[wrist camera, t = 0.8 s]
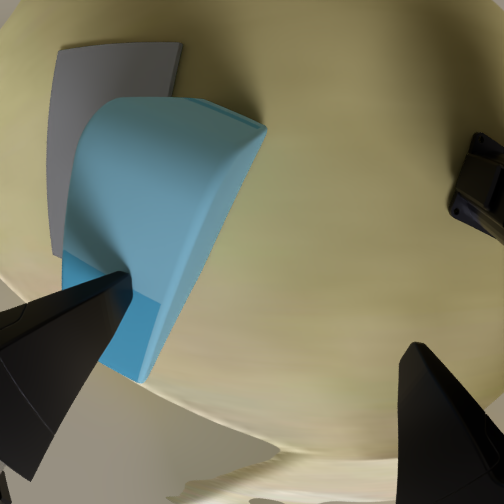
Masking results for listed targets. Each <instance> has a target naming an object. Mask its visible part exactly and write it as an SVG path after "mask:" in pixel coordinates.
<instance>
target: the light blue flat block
mask: <svg viewBox="0 0 504 504" xmlns="http://www.w3.org/2000/svg"><path fill="white" fill-rule="evenodd" d="M266 133H267V127H266V126H265V125H263V124H261V123H258V122H256V121H254V120H252V119H250V118H247V117H245V116H243V115H241V114H238V113H236V112H234V111H231V110H229V109H227V108H224V107H222V106H220V105H217V104H215V103H212V102H210V101H207V100H205V99H199V98H180V97H120V98H116V99H113V100H111V101H109V102H107V103H106V104H104V105H103V106H102V107H101V108H100V109H99V110H98V111H97V112H96V113H95V114H94V115H93V116H92V118H91V119H90V120H89V122H88V123H87V125H86V126H85V128H84V130H83V132H82V134H81V136H80V139H79V142H78V144H77V148H76V152H75V157H74V162H73V167H72V173H71V178H70V185H69V191H68V199H67V207H66V215H65V225H64V238H63V255H62V290H64V289H67V288H70V287H73V286H75V285H78V284H81V283H84V282H87V281H90V280H93V279H96V278H98V277H101V276H104V275H107V274H110V273H113V272H116V271H123V272H126V273H129V274H130V275H131V277H132V288H133V299H132V302H131V304H130V306H129V307H128V309H127V311H126V313H125V315H124V317H123V319H122V321H121V323H120V325H119V327H118V329H117V331H116V333H115V335H114V336H113V338H112V340H111V341H110V343H109V345H108V346H107V348H106V349H105V351H104V352H103V354H102V355H101V357H100V359H99V360H98V361H99V362H100V363H102V364H104V365H106V366H107V367H109V368H111V369H113V370H115V371H116V372H118V373H120V374H122V375H124V376H126V377H128V378H129V379H131V380H133V381H135V382H137V383H144V382H145V381H146V379H147V378H148V376H149V374H150V372H151V370H152V368H153V366H154V364H155V362H156V360H157V357H158V355H159V353H160V351H161V349H162V347H163V345H164V343H165V341H166V339H167V337H168V335H169V333H170V331H171V329H172V327H173V325H174V323H175V321H176V319H177V317H178V316H179V314H180V312H181V310H182V308H183V306H184V304H185V302H186V300H187V298H188V296H189V294H190V292H191V290H192V288H193V287H194V285H195V283H196V281H197V279H198V277H199V275H200V273H201V271H202V269H203V267H204V265H205V262H206V260H207V258H208V256H209V254H210V252H211V249H212V247H213V245H214V243H215V241H216V238H217V236H218V234H219V232H220V230H221V227H222V225H223V223H224V221H225V219H226V217H227V215H228V212H229V210H230V208H231V206H232V204H233V202H234V200H235V198H236V195H237V193H238V191H239V189H240V187H241V185H242V183H243V181H244V179H245V177H246V175H247V173H248V171H249V169H250V166H251V164H252V162H253V160H254V158H255V156H256V154H257V152H258V150H259V148H260V146H261V144H262V142H263V140H264V138H265V136H266Z"/></svg>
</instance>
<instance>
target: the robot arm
mask: <svg viewBox="0 0 504 504" xmlns="http://www.w3.org/2000/svg"><path fill="white" fill-rule="evenodd" d="M479 136H480V137H481V141H480V142H479V140H478V139H479ZM456 208H457V211H456V213H454V210H455V209H456ZM449 214H450V215H451V216H452V217H453V218H455V219H457V220H459V221H461V222H464V223H466V224H468V225H470V226H472V227H474V228H476V229H478V230H480V231H482V232H484V233H486V234H488V235H490V236H491V237H493V238H495V239H497V240H498V241H499V242H500V243H502V244H503V245H504V147H503V146H501V145H500V144H498V143H497V142H495V141H494V140H493V139H491V138H490V137H488V136H487V135H485V134H484V133H481V132H476V133H474V135H473V139H472V142H471V146H470V149H469V152H468V154H467V155H466V158H465V161H464V164H463V167H462V170H461V173H460V176H459V179H458V182H457V185H456V191H455V194H454V196H453V199H452V201H451V204H450V207H449ZM132 299H133V288H132V277H131V275H130V274H129V273H126V272H123V271H116V272H113V273H110V274H107V275H104V276H101V277H98V278H96V279H93V280H90V281H87V282H84V283H81V284H78V285H75V286H73V287H70V288H67V289H64V290H61V291H58V292H56V293H53V294H50V295H47V296H44V297H42V298H39V299H36V300H33V301H31V302H28V304H27V303H25V304H23V305H20V306H17V307H14V308H11V309H8V310H6V311H2V312H0V504H11V503H12V501H11V498H10V494H9V490H8V486H7V482H6V478H5V473H4V471H3V469H4V467H5V466H6V465H7V466H8V467H10V468H11V469H12V470H14V471H15V472H16V473H18V474H19V475H21V476H22V477H24V478H25V479H27V480H28V481H30V482H31V480H32V479H33V477H34V475H35V473H36V471H37V469H38V467H39V465H40V463H41V461H42V459H43V457H44V455H45V453H46V451H47V449H48V447H49V445H50V443H51V441H52V440H53V438H54V435H55V434H56V432H57V430H58V428H59V426H60V424H61V422H62V421H63V419H64V417H65V415H66V413H67V412H68V410H69V408H70V407H71V405H72V403H73V401H74V400H75V398H76V396H77V395H78V393H79V391H80V390H81V388H82V386H83V385H84V383H85V381H86V380H87V378H88V376H89V375H90V373H91V371H92V370H93V368H94V367H95V365H96V363H97V361H98V360H99V359H100V357H101V355H102V354H103V352H104V351H105V349H106V348H107V346H108V345H109V343H110V341H111V340H112V338H113V336H114V335H115V333H116V331H117V329H118V327H119V325H120V323H121V321H122V319H123V317H124V315H125V313H126V311H127V309H128V307H129V306H130V304H131V302H132ZM396 504H504V434H503V433H502V432H501V431H500V430H499V429H498V427H497V426H496V425H495V424H494V423H493V421H492V420H491V419H490V418H489V416H488V415H487V414H485V412H484V410H483V409H482V408H481V407H480V405H479V404H478V403H477V402H476V401H475V400H474V398H473V397H472V396H471V395H470V394H469V392H468V391H467V390H466V389H465V388H464V387H463V386H462V384H461V383H460V382H459V381H458V380H457V379H456V378H455V376H454V375H453V374H452V373H451V372H450V371H449V370H448V369H447V367H446V366H445V365H444V364H443V363H442V362H441V361H440V360H439V359H438V358H437V356H436V355H435V354H434V353H433V352H432V351H431V350H430V349H429V348H428V347H427V346H426V345H425V344H424V343H420V342H412V343H411V344H410V346H409V347H408V349H407V350H406V352H405V353H404V355H403V356H402V358H401V360H400V363H399V382H398V477H397V494H396Z"/></svg>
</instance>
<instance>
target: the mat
mask: <svg viewBox="0 0 504 504" xmlns="http://www.w3.org/2000/svg"><path fill="white" fill-rule="evenodd" d="M182 47H183V44H182V43H179V42H134V43H116V44H104V45H94V46H86V47H78V48H72V49H66V50H60V51H58V55H57V60H56V65H55V71H54V77H53V83H52V90H51V98H50V107H49V117H48V131H47V158H46V175H47V202H48V216H49V227H50V236H51V245H52V252H53V255H55V256H57V257H59V258H62V255H63V238H64V225H65V215H66V207H67V199H68V191H69V185H70V178H71V173H72V167H73V162H74V157H75V152H76V148H77V144H78V142H79V139H80V136H81V134H82V132H83V130H84V128H85V126H86V125H87V123H88V122H89V120H90V119H91V118H92V116H93V115H94V114H95V113H96V112H97V111H98V110H99V109H100V108H101V107H102V106H103V105H104V104H106V103H107V102H109V101H111V100H113V99H116V98H120V97H172V92H173V87H174V82H175V77H176V73H177V68H178V64H179V60H180V55H181V51H182Z"/></svg>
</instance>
